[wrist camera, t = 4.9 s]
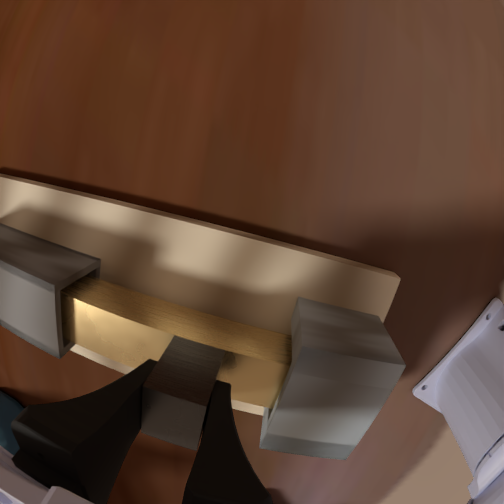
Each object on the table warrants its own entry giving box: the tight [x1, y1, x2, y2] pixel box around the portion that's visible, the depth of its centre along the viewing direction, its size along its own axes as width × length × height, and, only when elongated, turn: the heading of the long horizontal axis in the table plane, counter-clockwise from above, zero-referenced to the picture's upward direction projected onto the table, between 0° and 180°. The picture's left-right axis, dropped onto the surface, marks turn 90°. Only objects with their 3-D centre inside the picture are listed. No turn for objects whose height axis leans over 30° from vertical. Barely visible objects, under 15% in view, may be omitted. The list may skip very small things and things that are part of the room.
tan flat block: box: [60, 274, 292, 451], centre depth 14 cm, size 20×3×7 cm, turn 76°
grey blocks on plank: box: [0, 173, 406, 460], centre depth 17 cm, size 31×12×6 cm, turn 76°
